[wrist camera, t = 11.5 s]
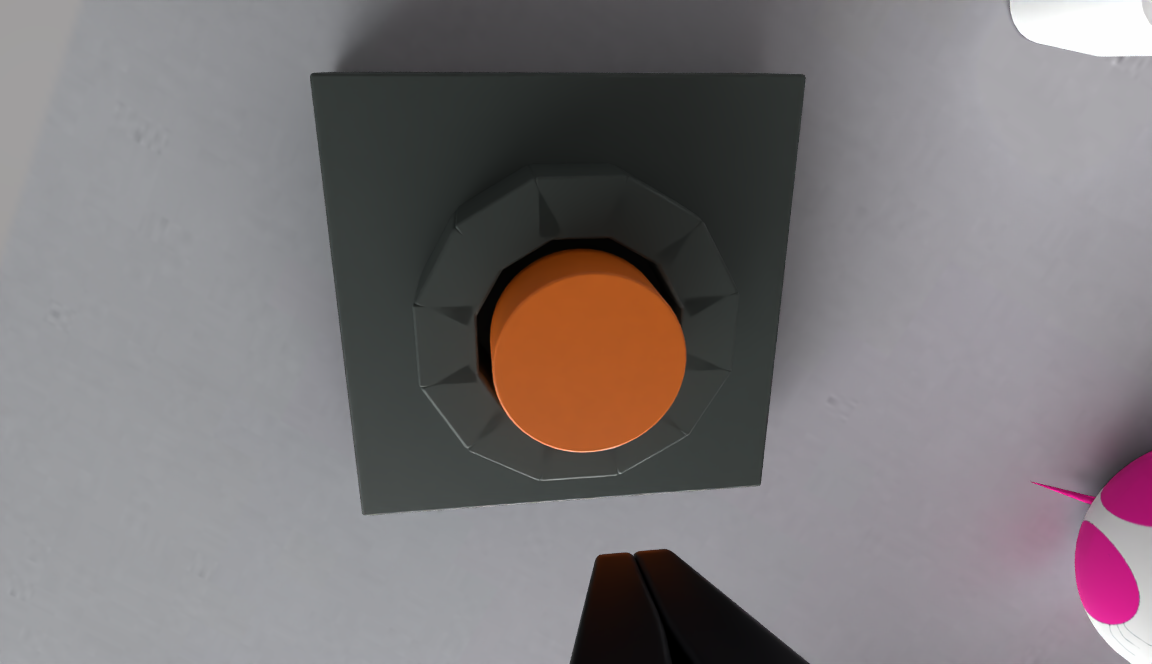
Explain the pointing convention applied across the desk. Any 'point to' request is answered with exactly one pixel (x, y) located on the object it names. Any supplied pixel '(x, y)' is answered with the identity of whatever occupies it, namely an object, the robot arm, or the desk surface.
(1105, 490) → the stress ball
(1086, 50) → the white slotted mount
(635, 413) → the button
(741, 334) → the button box
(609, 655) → the robot arm
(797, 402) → the desk surface
